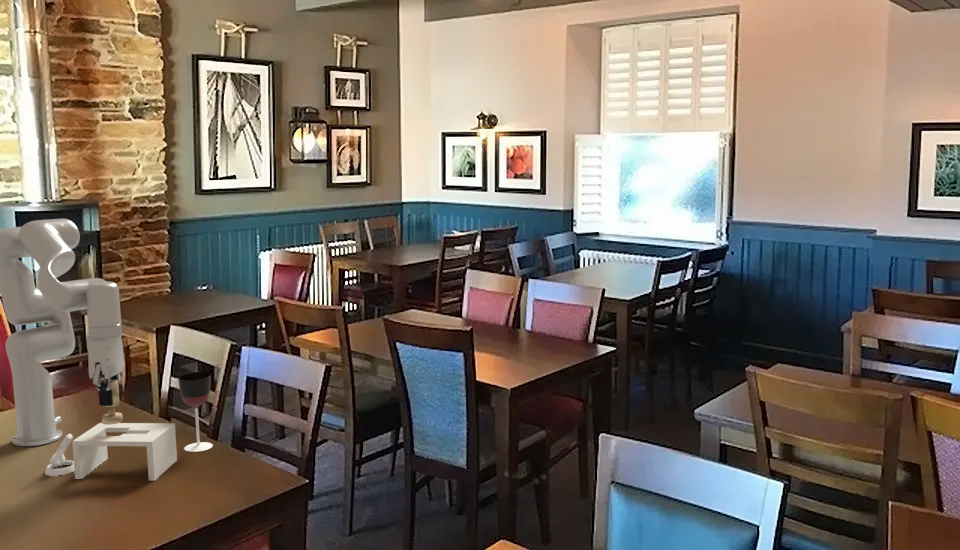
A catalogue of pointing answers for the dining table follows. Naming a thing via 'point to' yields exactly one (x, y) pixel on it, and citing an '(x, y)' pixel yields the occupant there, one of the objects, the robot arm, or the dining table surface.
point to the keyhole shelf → (153, 435)
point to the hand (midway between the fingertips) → (110, 402)
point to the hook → (60, 460)
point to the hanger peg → (113, 406)
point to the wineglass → (195, 400)
